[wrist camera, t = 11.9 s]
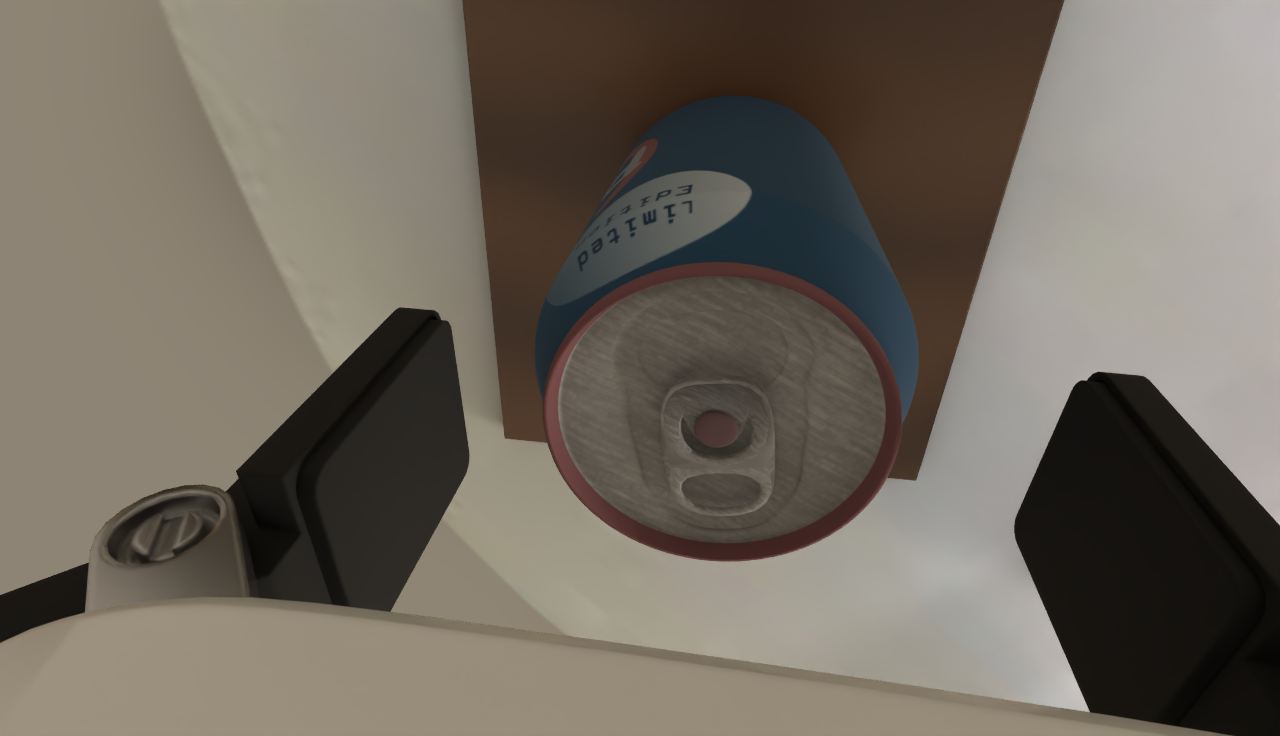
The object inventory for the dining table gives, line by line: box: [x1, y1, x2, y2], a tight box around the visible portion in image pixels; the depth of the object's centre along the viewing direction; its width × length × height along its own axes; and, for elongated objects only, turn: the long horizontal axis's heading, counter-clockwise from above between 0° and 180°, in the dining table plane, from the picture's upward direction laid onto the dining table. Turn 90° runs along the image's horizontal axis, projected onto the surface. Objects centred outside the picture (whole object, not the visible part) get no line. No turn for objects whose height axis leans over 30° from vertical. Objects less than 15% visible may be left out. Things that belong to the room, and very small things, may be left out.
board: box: [463, 0, 1064, 480], centre depth 21 cm, size 20×16×1 cm
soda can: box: [534, 95, 919, 561], centre depth 16 cm, size 7×7×12 cm
